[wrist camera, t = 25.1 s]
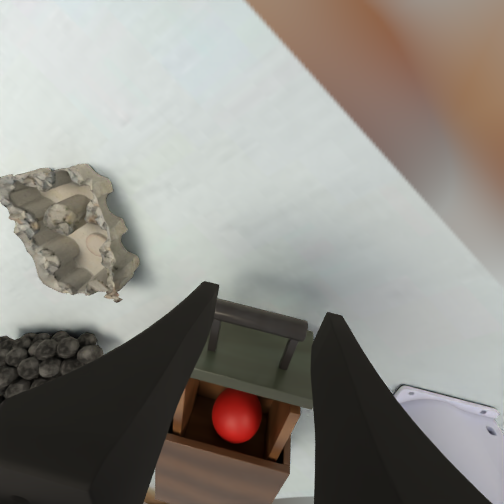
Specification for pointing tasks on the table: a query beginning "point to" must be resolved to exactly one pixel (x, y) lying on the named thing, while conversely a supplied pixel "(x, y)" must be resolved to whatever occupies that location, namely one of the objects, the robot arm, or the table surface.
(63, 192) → the egg carton
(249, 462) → the cabinet
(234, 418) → the apple
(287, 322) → the drawer
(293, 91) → the table surface
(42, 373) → the fruit
